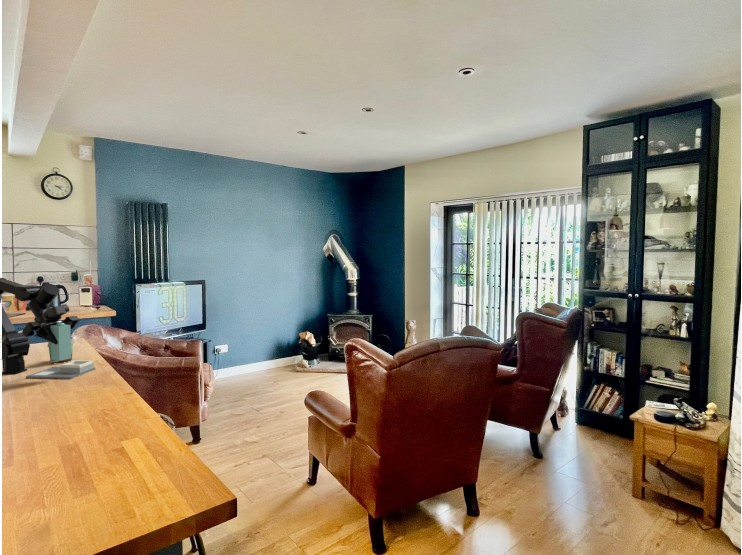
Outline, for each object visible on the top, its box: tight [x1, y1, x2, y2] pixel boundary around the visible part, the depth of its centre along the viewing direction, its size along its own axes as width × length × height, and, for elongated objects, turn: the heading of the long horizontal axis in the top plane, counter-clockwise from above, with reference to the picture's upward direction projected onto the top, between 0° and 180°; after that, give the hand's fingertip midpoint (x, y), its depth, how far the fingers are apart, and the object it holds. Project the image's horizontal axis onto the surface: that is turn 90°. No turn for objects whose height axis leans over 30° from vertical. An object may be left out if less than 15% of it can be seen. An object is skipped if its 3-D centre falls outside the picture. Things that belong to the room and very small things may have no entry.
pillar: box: [50, 323, 72, 361], centre depth 169 cm, size 4×4×14 cm
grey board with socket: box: [25, 359, 96, 380], centre depth 176 cm, size 18×14×4 cm
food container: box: [47, 336, 75, 365], centre depth 196 cm, size 12×6×10 cm, turn 179°
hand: (63, 342), depth 168 cm, fingers closed on pillar, 4 cm apart
